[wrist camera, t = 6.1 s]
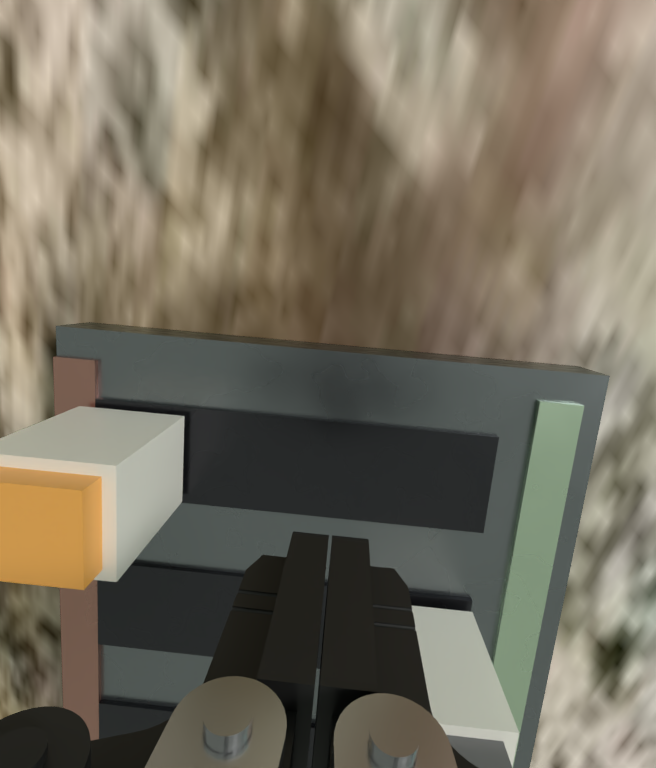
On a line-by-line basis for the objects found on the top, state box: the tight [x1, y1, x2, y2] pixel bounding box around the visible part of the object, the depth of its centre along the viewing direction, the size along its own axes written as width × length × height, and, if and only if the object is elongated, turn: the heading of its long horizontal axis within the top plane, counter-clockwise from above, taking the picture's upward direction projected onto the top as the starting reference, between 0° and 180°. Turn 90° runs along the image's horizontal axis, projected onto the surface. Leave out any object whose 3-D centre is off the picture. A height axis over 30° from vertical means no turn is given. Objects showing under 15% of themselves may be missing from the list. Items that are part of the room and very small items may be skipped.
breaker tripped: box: [0, 406, 185, 590], centre depth 13 cm, size 3×4×5 cm
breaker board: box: [53, 322, 609, 768], centre depth 18 cm, size 20×18×2 cm
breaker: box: [412, 606, 519, 768], centre depth 14 cm, size 3×4×5 cm
